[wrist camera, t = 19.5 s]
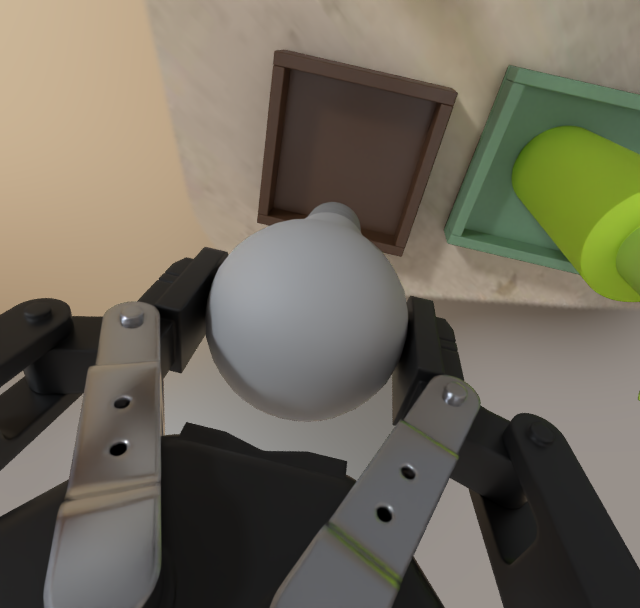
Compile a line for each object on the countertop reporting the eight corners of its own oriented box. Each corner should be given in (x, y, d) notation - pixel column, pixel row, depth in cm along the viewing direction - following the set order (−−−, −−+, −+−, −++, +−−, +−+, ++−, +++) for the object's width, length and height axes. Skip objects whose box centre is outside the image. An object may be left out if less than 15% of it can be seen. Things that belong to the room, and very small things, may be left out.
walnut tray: (283, 49, 28) (274, 50, 26) (453, 88, 28) (458, 92, 25) (265, 211, 35) (256, 222, 32) (400, 243, 34) (401, 257, 32)
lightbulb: (339, 123, 17) (281, 227, 8) (427, 228, 19) (466, 412, 9) (246, 215, 19) (122, 371, 10) (331, 298, 21) (290, 490, 12)
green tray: (508, 64, 26) (519, 67, 24) (688, 105, 26) (715, 112, 24) (443, 230, 33) (447, 243, 31) (585, 263, 33) (599, 279, 31)
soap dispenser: (486, 201, 31) (597, 390, 14) (548, 110, 27) (799, 225, 10) (551, 232, 31) (730, 448, 15) (622, 147, 28) (969, 313, 11)
